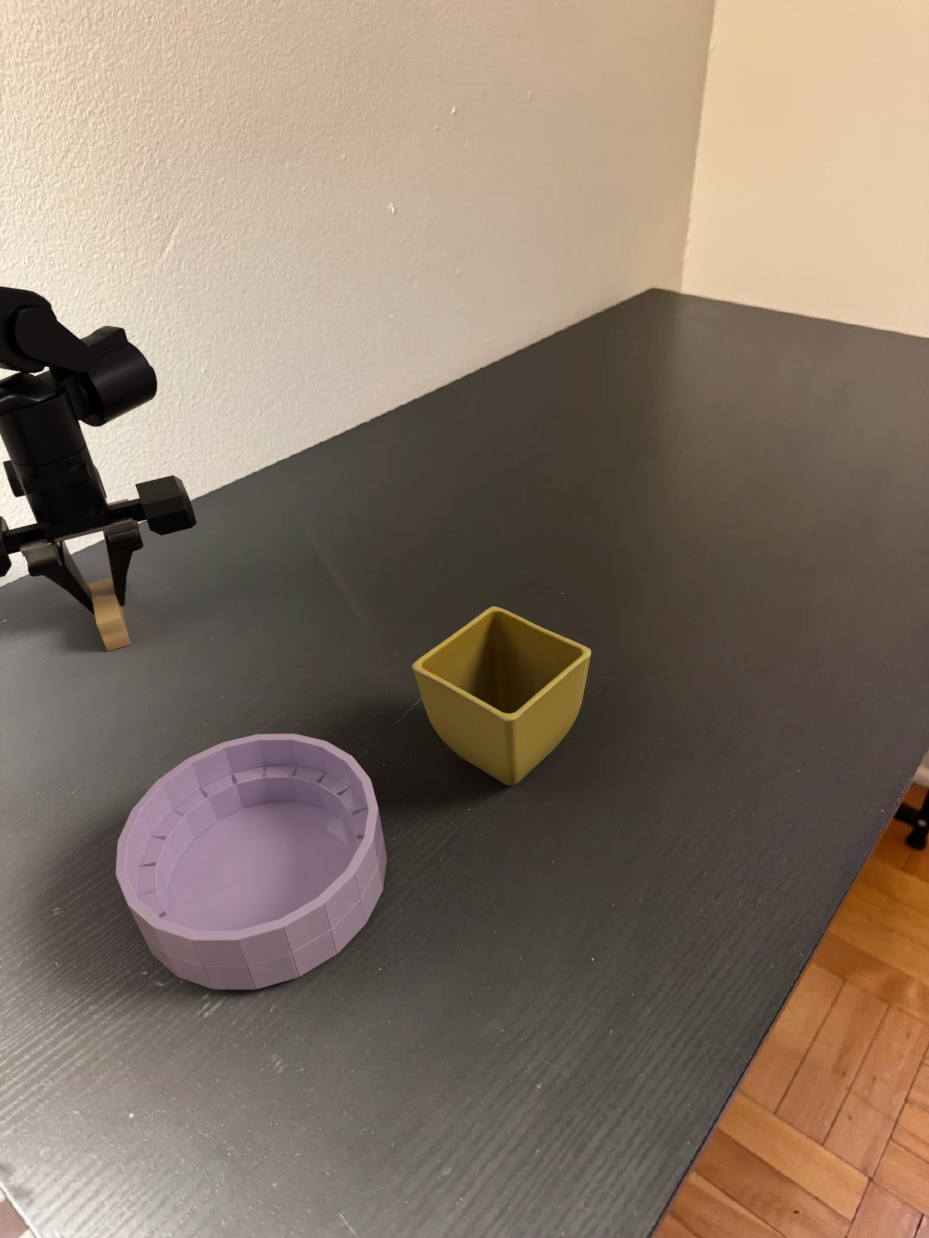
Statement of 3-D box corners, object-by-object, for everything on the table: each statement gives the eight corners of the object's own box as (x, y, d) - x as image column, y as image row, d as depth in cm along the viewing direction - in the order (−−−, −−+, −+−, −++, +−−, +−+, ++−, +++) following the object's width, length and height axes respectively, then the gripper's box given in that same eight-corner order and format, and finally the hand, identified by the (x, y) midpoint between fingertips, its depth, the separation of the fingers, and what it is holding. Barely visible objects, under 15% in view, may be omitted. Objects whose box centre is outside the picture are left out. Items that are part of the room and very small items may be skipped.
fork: (135, 643, 74) (125, 616, 72) (102, 653, 73) (91, 625, 71) (120, 581, 82) (111, 555, 80) (90, 590, 81) (80, 563, 80)
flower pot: (419, 759, 61) (408, 663, 56) (497, 695, 66) (493, 602, 61) (514, 820, 56) (511, 721, 51) (590, 746, 61) (595, 649, 56)
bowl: (90, 951, 50) (58, 895, 47) (230, 769, 61) (212, 713, 58) (316, 1031, 45) (298, 975, 42) (423, 818, 57) (416, 761, 53)
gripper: (152, 392, 76) (195, 540, 85) (-75, 439, 70) (-3, 592, 80) (173, 437, 68) (217, 595, 77) (-83, 495, 62) (-1, 658, 71)
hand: (108, 607), depth 77 cm, fingers closed on fork, 2 cm apart
